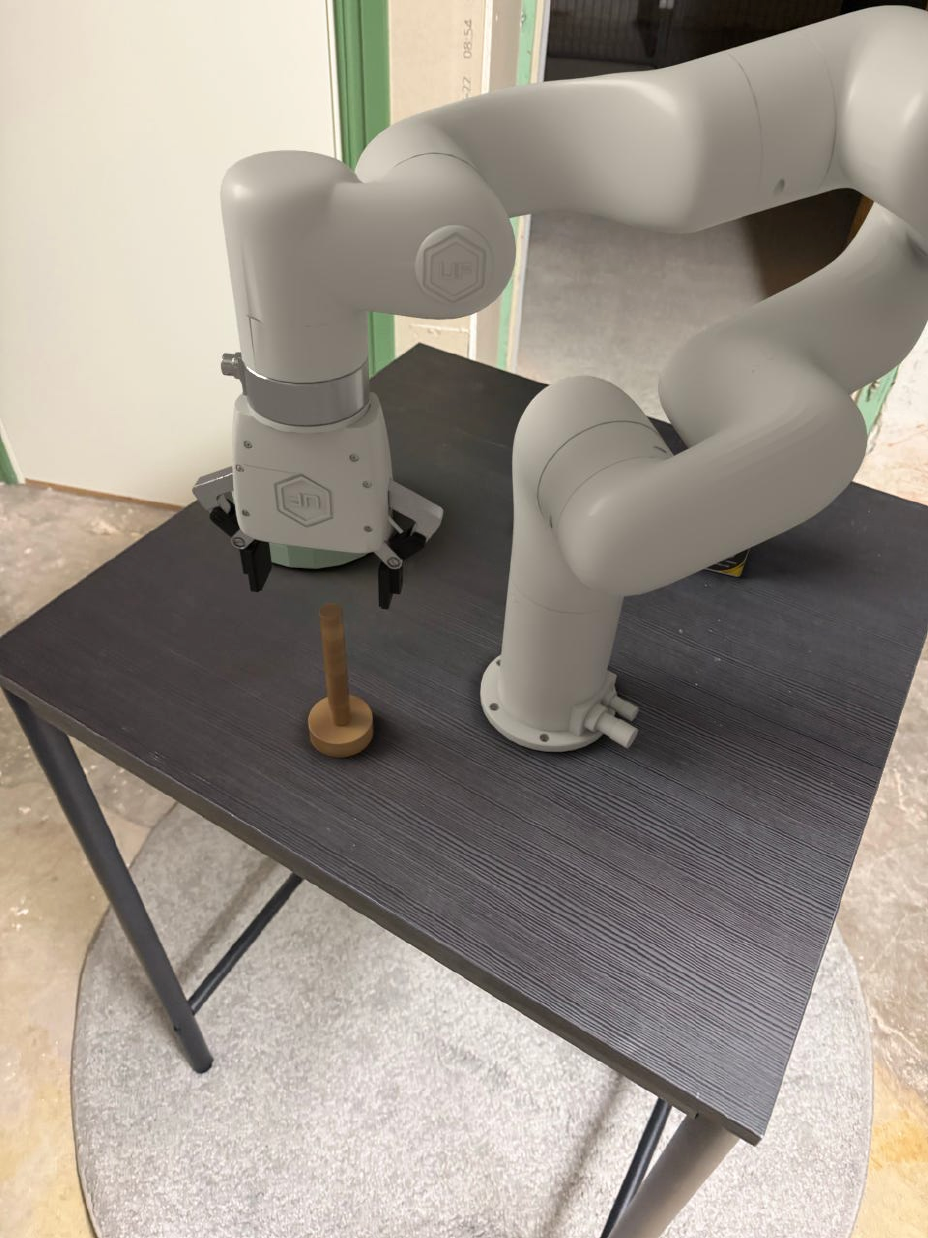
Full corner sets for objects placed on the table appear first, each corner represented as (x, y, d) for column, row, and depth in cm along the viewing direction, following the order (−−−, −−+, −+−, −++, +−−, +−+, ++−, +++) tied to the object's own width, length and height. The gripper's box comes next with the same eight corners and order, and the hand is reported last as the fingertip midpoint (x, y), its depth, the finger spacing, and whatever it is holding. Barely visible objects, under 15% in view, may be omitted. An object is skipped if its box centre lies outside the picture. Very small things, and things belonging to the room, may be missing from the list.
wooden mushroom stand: (386, 729, 78) (382, 607, 67) (342, 768, 74) (331, 647, 64) (340, 698, 80) (329, 576, 69) (296, 735, 77) (278, 613, 66)
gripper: (146, 395, 51) (194, 607, 63) (437, 430, 50) (430, 639, 62) (192, 337, 56) (228, 542, 68) (456, 367, 55) (446, 571, 67)
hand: (324, 588), depth 65 cm, fingers open, 9 cm apart
